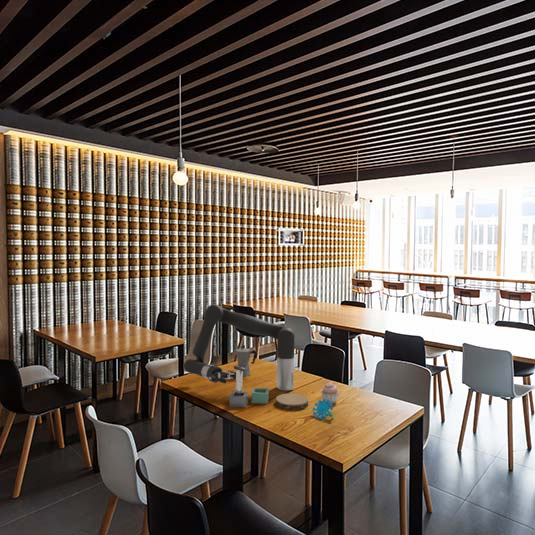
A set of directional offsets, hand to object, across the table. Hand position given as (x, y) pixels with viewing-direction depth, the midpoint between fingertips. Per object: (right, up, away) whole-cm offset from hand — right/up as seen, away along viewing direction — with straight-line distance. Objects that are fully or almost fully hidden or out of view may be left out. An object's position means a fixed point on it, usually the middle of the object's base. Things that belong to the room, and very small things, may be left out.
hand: (232, 379), depth 205 cm
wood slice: (+30, -12, -1) cm, 32 cm away
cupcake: (+49, -12, +3) cm, 51 cm away
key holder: (+14, -11, +3) cm, 18 cm away
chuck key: (+3, -11, -3) cm, 12 cm away
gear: (+43, -13, -17) cm, 48 cm away
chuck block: (+3, -11, -3) cm, 12 cm away
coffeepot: (+4, -10, +46) cm, 47 cm away
